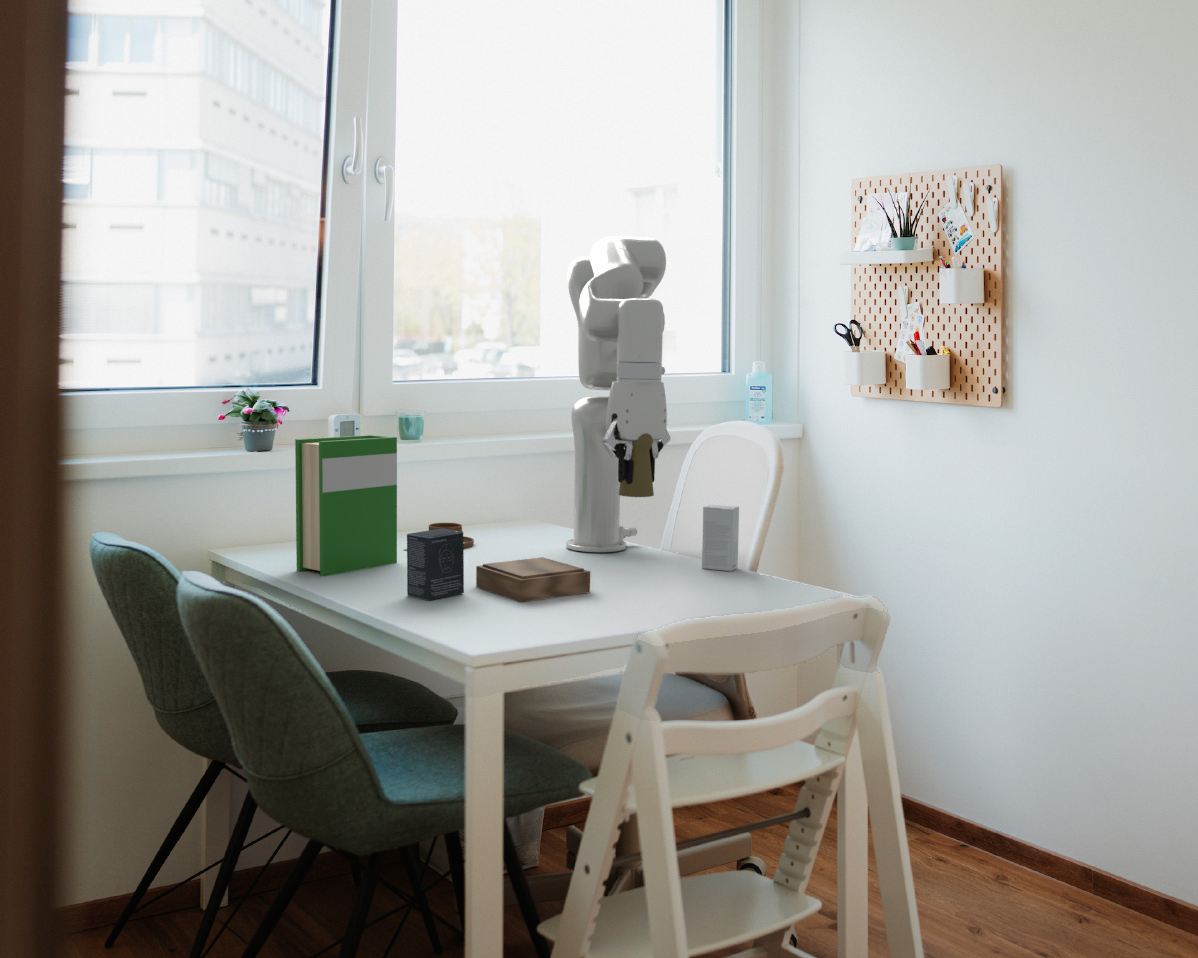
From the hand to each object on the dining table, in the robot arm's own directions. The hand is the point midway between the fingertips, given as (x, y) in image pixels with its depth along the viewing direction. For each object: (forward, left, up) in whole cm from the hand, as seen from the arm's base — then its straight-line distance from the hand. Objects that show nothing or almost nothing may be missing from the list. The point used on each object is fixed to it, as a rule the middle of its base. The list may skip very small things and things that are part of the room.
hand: (636, 481), depth 183 cm
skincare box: (-27, -8, -19) cm, 34 cm away
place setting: (+8, -60, -20) cm, 63 cm away
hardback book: (+32, -46, -19) cm, 59 cm away
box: (+30, -16, -19) cm, 39 cm away
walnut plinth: (+14, -11, -19) cm, 26 cm away
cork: (0, 0, -2) cm, 2 cm away
